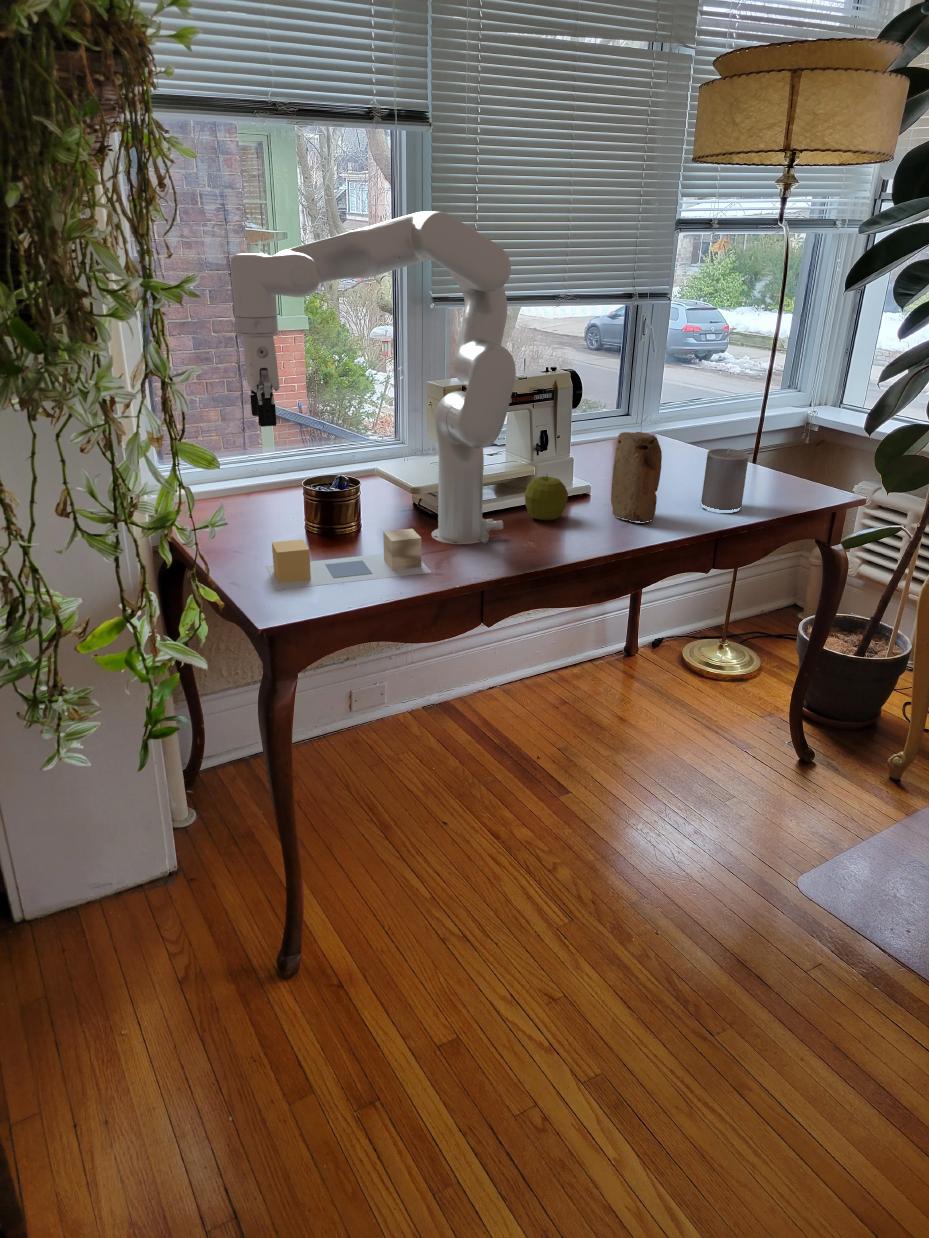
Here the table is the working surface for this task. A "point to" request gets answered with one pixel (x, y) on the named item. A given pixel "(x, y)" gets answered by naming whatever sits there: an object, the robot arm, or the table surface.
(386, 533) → the maple cube
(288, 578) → the ochre cube
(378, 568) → the board
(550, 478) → the apple
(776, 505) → the table surface
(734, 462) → the pillar candle
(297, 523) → the table surface
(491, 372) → the robot arm
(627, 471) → the block
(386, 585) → the table surface
